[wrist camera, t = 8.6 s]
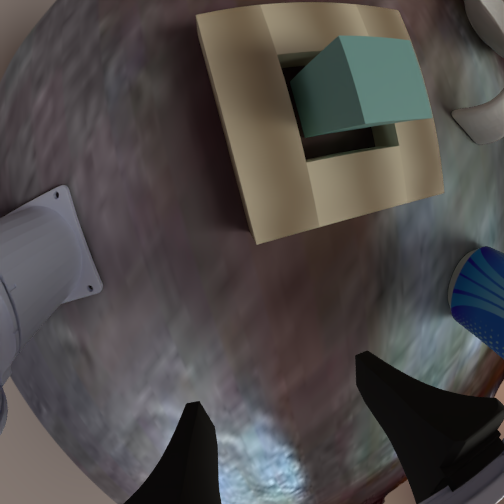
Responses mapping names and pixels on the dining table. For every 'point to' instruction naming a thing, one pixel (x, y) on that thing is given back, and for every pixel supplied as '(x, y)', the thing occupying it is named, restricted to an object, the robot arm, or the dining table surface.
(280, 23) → the board
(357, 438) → the dining table surface
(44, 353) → the dining table surface
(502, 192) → the dining table surface
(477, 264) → the beer can
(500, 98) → the spoon rest
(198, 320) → the dining table surface
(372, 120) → the teal block
